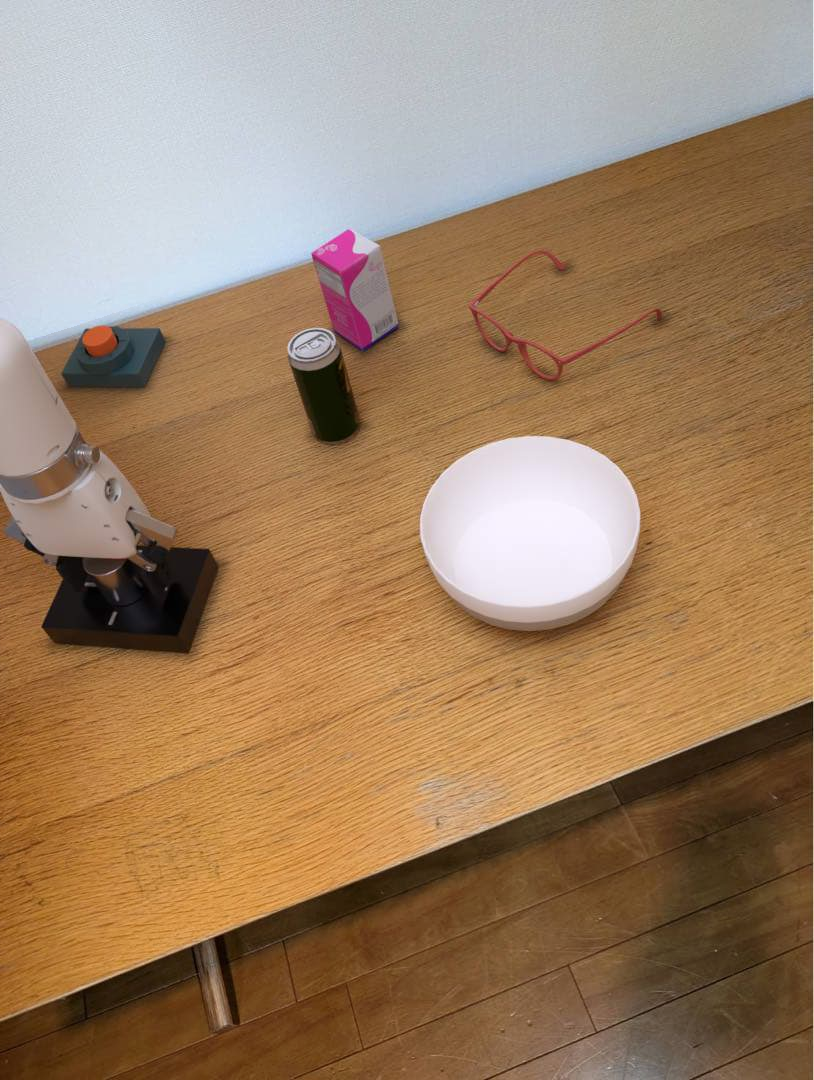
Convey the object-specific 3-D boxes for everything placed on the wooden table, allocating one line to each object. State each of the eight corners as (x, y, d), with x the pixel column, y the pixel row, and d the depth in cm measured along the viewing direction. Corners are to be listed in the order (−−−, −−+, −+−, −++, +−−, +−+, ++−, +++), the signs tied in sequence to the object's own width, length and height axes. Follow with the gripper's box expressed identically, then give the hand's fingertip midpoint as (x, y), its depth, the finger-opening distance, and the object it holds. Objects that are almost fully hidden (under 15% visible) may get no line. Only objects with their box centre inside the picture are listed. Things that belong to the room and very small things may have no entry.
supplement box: (369, 306, 119) (350, 225, 110) (400, 327, 116) (383, 245, 107) (331, 331, 117) (309, 251, 108) (362, 353, 114) (341, 272, 105)
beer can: (324, 454, 105) (296, 370, 96) (305, 424, 109) (277, 340, 99) (369, 433, 106) (346, 348, 97) (349, 404, 109) (325, 319, 100)
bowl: (483, 476, 100) (475, 415, 93) (666, 527, 92) (671, 465, 86) (397, 622, 91) (380, 567, 84) (593, 693, 83) (592, 638, 76)
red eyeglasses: (458, 334, 114) (453, 299, 110) (556, 263, 119) (554, 228, 115) (570, 403, 104) (569, 367, 100) (671, 323, 109) (673, 287, 105)
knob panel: (54, 643, 95) (39, 625, 93) (91, 560, 101) (78, 541, 99) (188, 653, 92) (177, 635, 90) (218, 566, 98) (209, 547, 96)
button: (83, 357, 116) (77, 346, 115) (94, 336, 118) (88, 325, 117) (111, 357, 115) (105, 345, 114) (122, 336, 117) (116, 325, 116)
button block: (67, 388, 119) (53, 363, 116) (92, 341, 123) (79, 316, 120) (143, 389, 116) (131, 363, 113) (165, 341, 121) (154, 316, 118)
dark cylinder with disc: (97, 604, 94) (73, 572, 89) (113, 567, 96) (91, 533, 92) (139, 607, 93) (117, 574, 88) (154, 569, 95) (134, 535, 91)
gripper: (154, 425, 80) (219, 554, 94) (-34, 421, 84) (55, 546, 98) (122, 496, 76) (196, 621, 90) (-74, 489, 80) (25, 609, 93)
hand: (122, 581), depth 94 cm, fingers open, 7 cm apart
